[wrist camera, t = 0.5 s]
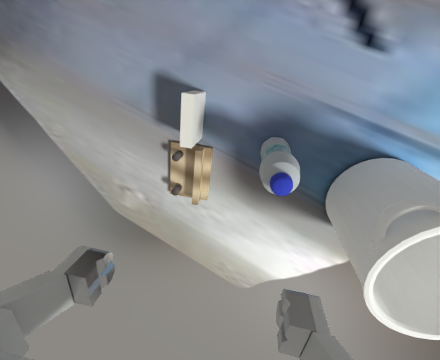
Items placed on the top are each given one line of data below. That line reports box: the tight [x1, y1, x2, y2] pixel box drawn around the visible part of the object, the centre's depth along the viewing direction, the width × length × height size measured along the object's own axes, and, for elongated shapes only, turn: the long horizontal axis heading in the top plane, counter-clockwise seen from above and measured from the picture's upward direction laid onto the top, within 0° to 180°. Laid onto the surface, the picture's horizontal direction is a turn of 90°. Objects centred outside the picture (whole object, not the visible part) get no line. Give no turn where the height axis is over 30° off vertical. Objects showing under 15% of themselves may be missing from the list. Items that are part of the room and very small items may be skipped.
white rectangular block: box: [180, 90, 206, 149], centre depth 45 cm, size 10×2×9 cm, turn 174°
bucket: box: [326, 158, 440, 340], centre depth 40 cm, size 26×22×24 cm
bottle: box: [259, 137, 300, 196], centre depth 41 cm, size 7×7×20 cm
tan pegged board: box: [170, 141, 213, 205], centre depth 54 cm, size 14×10×4 cm
